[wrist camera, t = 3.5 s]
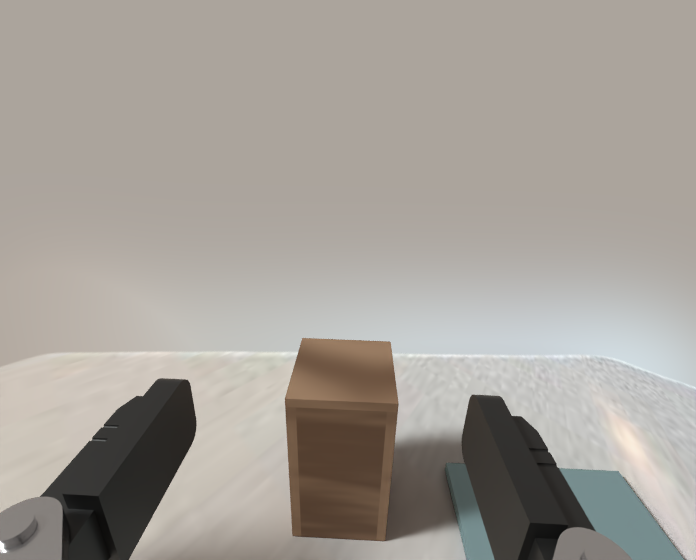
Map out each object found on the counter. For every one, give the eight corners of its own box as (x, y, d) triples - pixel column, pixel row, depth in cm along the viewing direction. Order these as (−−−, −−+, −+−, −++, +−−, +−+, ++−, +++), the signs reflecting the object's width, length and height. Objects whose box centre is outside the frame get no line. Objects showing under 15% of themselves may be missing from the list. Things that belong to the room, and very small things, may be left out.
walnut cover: (306, 458, 31) (302, 338, 26) (380, 462, 31) (390, 341, 26) (292, 536, 25) (284, 398, 20) (384, 541, 25) (398, 403, 20)
